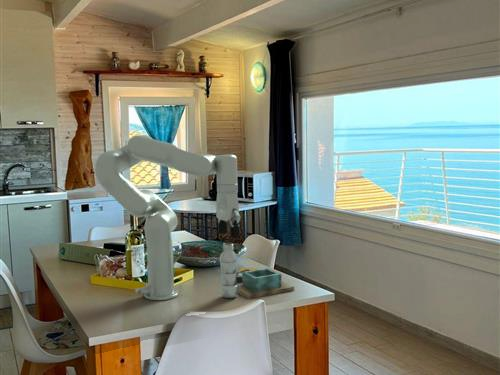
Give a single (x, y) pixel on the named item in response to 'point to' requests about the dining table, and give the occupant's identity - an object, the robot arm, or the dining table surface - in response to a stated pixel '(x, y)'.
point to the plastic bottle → (228, 271)
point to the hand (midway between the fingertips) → (228, 235)
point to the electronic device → (239, 274)
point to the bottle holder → (262, 283)
